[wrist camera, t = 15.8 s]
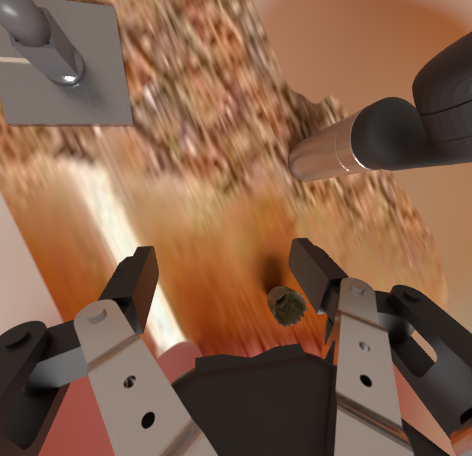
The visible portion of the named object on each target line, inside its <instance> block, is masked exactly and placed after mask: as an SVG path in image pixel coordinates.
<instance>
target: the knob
mask: <svg viewBox="0 0 472 456" xmlns="http://www.w3.org/2000/svg"><path fill="white" fill-rule="evenodd" d="M0 25H1V26H2V27H3V28H5V29H6V30H7V31H8V34H9V38H10V42H11V46H12V47H13V48H14V49H16V50H17V51H18V52H19V53H20V54H21V55H22V56H23V57H24V58H25V59H27V60H28V61H29V62H30V63H31V64H32V65H33V66H34V67H35V68H36V69H38V70H39V71H40V72H41V73H42V74H43V75H44V76H64V77H79V76H78V71H77V66H76V61H75V56H74V50H73V45H72V43H71V42H70V41H69V39H68V38H67V36H66V35H65V33H64V32H63V31H62V29H61V28H60V26H59V25H58V24H57V22H56V21H55V19H54V18H53V16H52V15H51V14H50V12H49V11H48V9H47V8H42V7H37V6H36V4H35V3H34V2H33V0H0ZM48 41H49V44H47V43H48Z"/></svg>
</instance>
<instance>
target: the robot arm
mask: <svg viewBox="0 0 472 456" xmlns="http://www.w3.org/2000/svg"><path fill="white" fill-rule="evenodd" d="M412 91H413V97H414V102H415V106H416V108H415V107H414V106H413V105H412V104H410V103H409V102H408V101H406V100H404V99H401V98H398V97H388V98H384V99H381V100H379V101H377V102H375V103H373V104H371V105H369V106H367V107H365V108H363V109H362V110H360V111H358V112H356V113H354V114H352V115H350V116H348V117H346V118H345V119H343V120H341V121H339V122H337V123H335V124H333V125H331V126H329V127H327V128H325V129H324V130H322V131H320V132H318V133H316V134H314V135H312V136H310V137H308V138H306V139H304V140H302V141H301V142H299V143H297V144H296V145H295V146H294V147H293V148H292V150H291V152H290V155H289V167H290V170H291V172H292V174H293V175H294V176H295V177H296V178H297V179H298V180H300V181H304V182H309V181H315V180H321V179H327V178H333V177H338V176H344V175H350V174H356V173H362V172H367V171H373V170H379V169H384V170H392V171H393V170H404V169H411V168H421V167H432V166H442V165H453V164H461V163H469V162H472V32H470V33H469V34H467V35H466V36H464V37H462V38H461V39H459V40H458V41H456V42H454V43H453V44H451V45H450V46H448V47H447V48H445V49H444V50H443V51H441V52H440V53H439V54H437V55H436V56H435V57H434V58H432V59H431V60H430V61H429V62H428V63H427V64H426V65H425V66H424V67H423V68H422V69H421V70H420V72H419V73H418V74H417V76H416V77H415V79H414V82H413V86H412ZM289 267H290V270H291V272H292V273H293V275H294V277H295V278H296V280H297V282H298V283H299V285H300V286H301V288H302V290H303V291H304V293H305V295H306V296H307V298H308V300H309V301H310V303H311V305H312V306H313V308H314V310H315V311H316V313H317V314H323V313H326V314H327V316H328V318H327V320H326V327H325V333H324V340H323V346H322V352H321V357H318V356H316V355H313V354H310V353H306V352H304V351H303V349H302V347H301V345H300V343H299V344H292V345H285V346H278V347H274V348H272V349H270V350H268V351H266V352H263V353H261V354H259V355H257V356H255V357H252V358H247V357H240V356H232V355H225V354H221V355H214V356H207V357H200V358H196V362H195V368H193V369H191V370H189V371H187V372H185V373H184V374H182V375H181V376H180V377H178V378H177V379H176V380H175V381H174V382H173V383H172V384H171V385H170V383H169V382H168V380H167V379H166V377H165V375H164V373H163V372H162V370H161V369H160V367H159V366H158V364H157V362H156V361H155V359H154V358H153V356H152V354H151V353H150V351H149V350H148V348H147V346H146V345H145V343H144V342H143V340H142V338H141V337H140V336H139V334H143V333H144V329H145V325H146V322H147V318H148V314H149V311H150V307H151V303H152V300H153V296H154V292H155V289H156V285H157V282H158V276H159V270H158V264H157V259H156V254H155V249H154V247H153V246H143V247H137V249H136V251H135V253H134V255H133V256H131V257H126V258H125V259H124V260H123V261H122V262H120V263H119V265H118V267H117V268H116V270H115V272H114V274H113V275H112V278H111V279H110V280H109V282H108V284H107V286H106V287H105V289H104V291H103V293H102V294H101V296H100V298H99V299H98V301H96V302H94V303H91V304H90V305H88V306H86V307H85V308H84V309H82V310H81V311H80V312H79V313H78V314H77V316H76V318H75V319H74V320H71V321H68V322H65V323H62V324H59V325H56V326H53V327H50V328H47V327H46V326H45V324H44V323H43V322H40V321H30V322H26V323H23V324H20V325H18V326H15V327H13V328H11V329H10V330H8V331H6V332H5V333H3V334H2V335H1V336H0V456H38V454H39V452H40V450H41V448H42V446H43V443H44V441H45V439H46V436H47V434H48V432H49V430H50V427H51V425H52V423H53V421H54V419H55V416H56V414H57V412H58V409H59V407H60V405H61V403H62V401H63V398H64V396H65V394H66V392H67V389H68V387H69V385H70V383H71V382H72V381H74V380H76V379H79V378H81V377H83V376H85V375H88V376H89V379H90V382H91V385H92V388H93V391H94V393H95V397H96V399H97V403H98V405H99V408H100V411H101V415H102V417H103V420H104V423H105V426H106V429H107V432H108V435H109V438H110V441H111V444H112V447H113V450H114V453H115V456H450V455H448V454H447V453H446V452H444V451H443V450H442V449H441V448H439V447H438V446H437V445H436V444H434V443H433V442H432V441H430V440H429V439H428V438H426V437H425V436H424V435H423V434H421V433H420V432H418V431H417V430H416V429H415V428H414V427H412V426H411V425H410V424H408V423H407V422H406V421H405V420H403V419H402V418H401V415H400V409H399V402H398V396H397V389H396V384H395V377H394V370H393V364H392V362H393V363H394V364H395V366H396V367H397V368H398V370H399V371H400V372H401V374H402V375H403V377H404V378H405V379H406V381H407V382H408V383H409V385H410V386H411V387H412V389H413V390H414V391H415V393H416V394H417V395H418V397H419V398H420V400H421V401H422V402H423V403H424V405H425V406H426V408H427V409H428V410H429V412H430V413H431V414H432V416H433V417H434V418H435V420H436V421H437V422H438V424H439V425H440V427H441V428H442V429H443V431H444V432H445V433H446V435H447V436H448V437H449V439H450V440H451V444H452V447H453V450H454V452H455V454H456V456H472V334H471V333H470V332H469V331H468V330H466V329H465V328H464V327H463V326H462V325H460V324H459V323H458V322H457V321H456V320H454V319H453V318H452V317H451V316H450V315H448V314H447V313H446V312H445V311H444V310H442V309H441V308H440V307H439V306H438V305H436V304H435V303H434V302H433V301H431V300H430V299H429V298H428V297H427V296H425V295H424V294H423V293H421V292H420V291H418V290H416V289H414V288H411V287H408V286H405V285H395V286H393V288H392V290H391V291H390V293H388V292H381V291H375V290H373V288H372V287H371V286H370V285H368V284H367V283H365V282H364V281H362V280H359V279H356V278H350V277H348V275H347V274H346V273H345V272H344V271H343V270H342V269H341V268H340V267H339V266H338V265H337V264H336V263H335V262H333V260H332V259H331V258H330V257H329V255H328V254H327V253H326V252H325V251H324V250H322V249H321V248H319V247H317V246H316V245H315V246H314V245H313V244H312V243H311V242H310V241H309V239H308V238H295V239H293V241H292V245H291V250H290V255H289ZM414 330H416V331H417V332H418V333H419V334H420V335H421V336H422V337H423V338H424V339H425V340H426V341H427V342H428V343H429V344H430V345H431V346H432V347H433V349H434V350H435V352H436V354H437V361H436V363H435V362H434V361H433V360H432V359H431V358H430V357H429V356H428V355H427V353H425V351H424V350H423V349H422V348H421V347H420V346H419V345H418V344H417V342H416V341H415V340H414V339H413V338H412V337H411V335H412V333H413V332H414Z"/></svg>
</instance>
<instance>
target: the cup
mask: <svg viewBox="0 0 472 456" xmlns="http://www.w3.org/2000/svg"><path fill="white" fill-rule="evenodd" d="M267 301H268V306H269V308H270V310H271V312H272V314H273V316H274V318H275V319H276V320H277V321H278V323H279V324H281V325H283V326H284V327H286V326H287V324H288V325H289V326H291V323H292V324H297V321H298V322H300V320H301V319H300V316H302V317H304V314H303V312H305V311H306V310H307V307H306V304H307V302H306V301H305V300H304V299H303V298H302V295H301V294H299V293H298V292H296V291H294V290H292V289H290V288H288V287H286V286H277V287H272V288H271V289H270V290H269V292H268V299H267Z"/></svg>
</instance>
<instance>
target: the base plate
mask: <svg viewBox="0 0 472 456" xmlns="http://www.w3.org/2000/svg"><path fill="white" fill-rule="evenodd" d="M33 2H34V3H35V4H36V6H37V7H42V8H47V9H48V11H49V12H50V14H51V15H52V16H53V18H54V19H55V21H56V22H57V24H58V25H59V26H60V28H61V29H62V31H63V32H64V33H65V35H66V36H67V38H68V39H69V41H70V42H71V43H72V45H73V50H74V56H75V61H76V66H77V71H78V76H79V77H64V76H44V75H43V74H42V73H41V72H40V71H39V70H38V69H36V68H35V67H34V66H33V65H32V64H31V63H30V62H29V61H28V60H27V59H25V58H24V57H23V56H22V55H21V54H20V53H19V52H18V51H17V50H16V49H14V48H13V47H12V46H11V42H10V38H9V34H8V31H7V30H6V29H5V28H3V27H2V26H1V25H0V98H1V102H2V106H3V110H4V114H5V118H6V122H7V124H8V125H11V126H13V127H71V126H134V119H133V113H132V107H131V101H130V94H129V88H128V82H127V76H126V69H125V63H124V57H123V51H122V44H121V38H120V32H119V26H118V19H117V13H116V10H115V8H114V6H106V5H98V4H91V3H83V2H75V1H67V0H33ZM47 44H49V41H48V43H47Z"/></svg>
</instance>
